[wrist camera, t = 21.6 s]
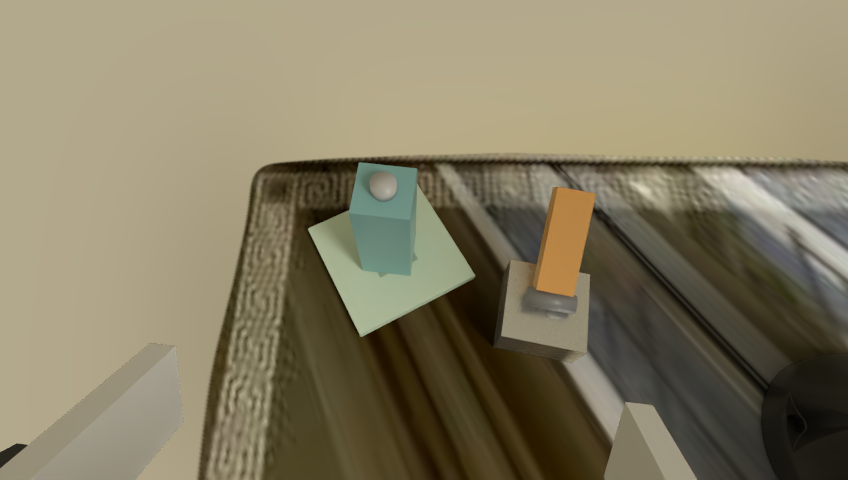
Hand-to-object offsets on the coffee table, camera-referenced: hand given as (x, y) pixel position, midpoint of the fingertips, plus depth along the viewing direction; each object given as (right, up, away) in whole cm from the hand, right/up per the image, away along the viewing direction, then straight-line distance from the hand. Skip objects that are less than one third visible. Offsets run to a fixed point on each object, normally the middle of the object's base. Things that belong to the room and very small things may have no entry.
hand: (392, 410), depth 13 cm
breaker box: (+11, -2, +29) cm, 31 cm away
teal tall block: (-2, +4, +30) cm, 31 cm away
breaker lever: (+11, 0, +24) cm, 27 cm away
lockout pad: (-2, +4, +31) cm, 32 cm away
